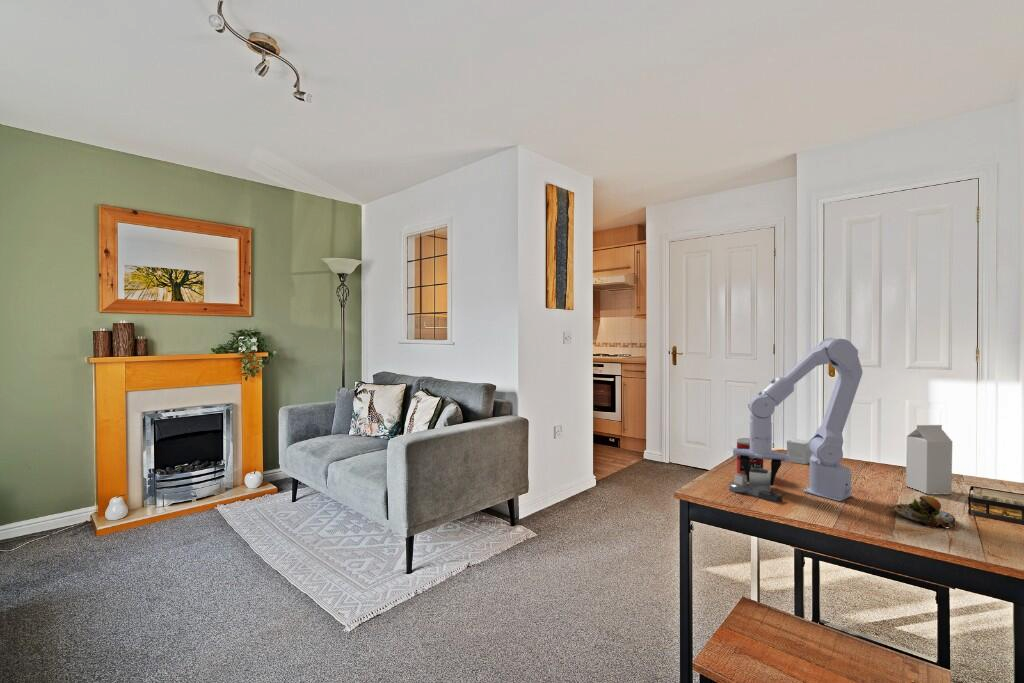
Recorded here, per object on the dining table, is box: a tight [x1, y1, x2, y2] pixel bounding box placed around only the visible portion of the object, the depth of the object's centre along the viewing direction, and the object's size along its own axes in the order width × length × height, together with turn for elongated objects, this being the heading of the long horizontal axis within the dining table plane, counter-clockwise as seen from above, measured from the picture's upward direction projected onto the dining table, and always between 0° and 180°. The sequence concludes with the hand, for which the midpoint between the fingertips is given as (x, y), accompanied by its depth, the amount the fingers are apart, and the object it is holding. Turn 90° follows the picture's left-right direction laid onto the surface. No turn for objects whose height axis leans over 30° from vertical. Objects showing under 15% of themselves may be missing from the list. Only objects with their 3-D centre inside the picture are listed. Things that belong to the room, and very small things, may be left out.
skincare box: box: [786, 438, 812, 465], centre depth 168 cm, size 6×6×7 cm
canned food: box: [736, 437, 764, 475], centre depth 153 cm, size 8×8×11 cm
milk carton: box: [905, 424, 953, 495], centre depth 137 cm, size 7×7×19 cm
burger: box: [892, 491, 956, 529], centre depth 117 cm, size 12×12×8 cm
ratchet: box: [728, 472, 783, 504], centre depth 135 cm, size 14×6×5 cm, turn 34°
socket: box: [748, 467, 772, 491], centre depth 140 cm, size 5×5×5 cm
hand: (760, 483), depth 141 cm, fingers closed on socket, 5 cm apart
